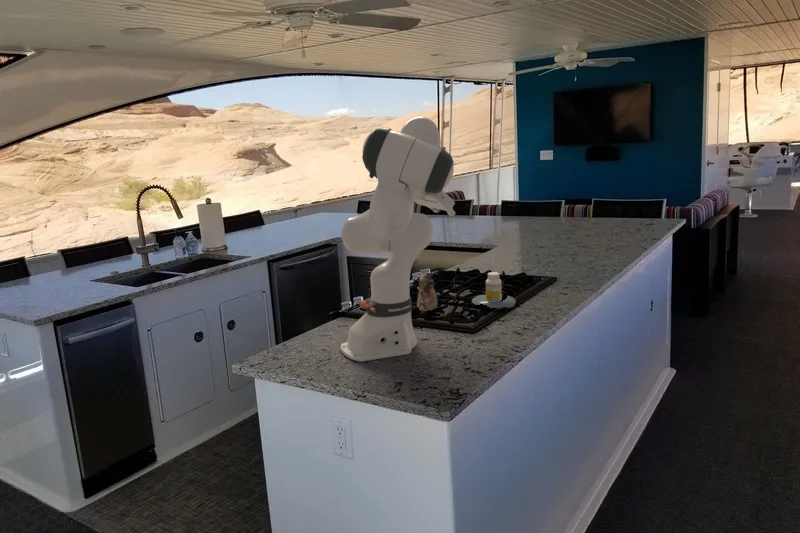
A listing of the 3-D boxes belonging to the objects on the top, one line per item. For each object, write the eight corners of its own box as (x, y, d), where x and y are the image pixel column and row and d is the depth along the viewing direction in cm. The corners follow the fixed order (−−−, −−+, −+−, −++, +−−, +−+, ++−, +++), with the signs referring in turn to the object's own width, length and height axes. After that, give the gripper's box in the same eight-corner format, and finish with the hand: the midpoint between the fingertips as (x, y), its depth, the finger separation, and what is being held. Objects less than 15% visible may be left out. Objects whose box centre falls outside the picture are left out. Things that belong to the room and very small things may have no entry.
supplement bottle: (491, 297, 219) (491, 270, 216) (504, 299, 215) (504, 272, 213) (482, 301, 215) (482, 274, 212) (496, 303, 211) (496, 276, 209)
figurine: (413, 306, 216) (412, 273, 213) (431, 303, 219) (430, 270, 216) (422, 312, 210) (421, 278, 207) (441, 308, 213) (440, 275, 210)
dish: (488, 313, 205) (488, 310, 205) (463, 302, 218) (463, 299, 218) (524, 305, 212) (524, 301, 212) (498, 294, 225) (498, 291, 225)
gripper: (441, 181, 188) (468, 209, 195) (409, 176, 205) (435, 202, 212) (429, 197, 187) (457, 224, 194) (397, 190, 204) (424, 216, 211)
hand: (445, 212), depth 203 cm, fingers open, 8 cm apart
